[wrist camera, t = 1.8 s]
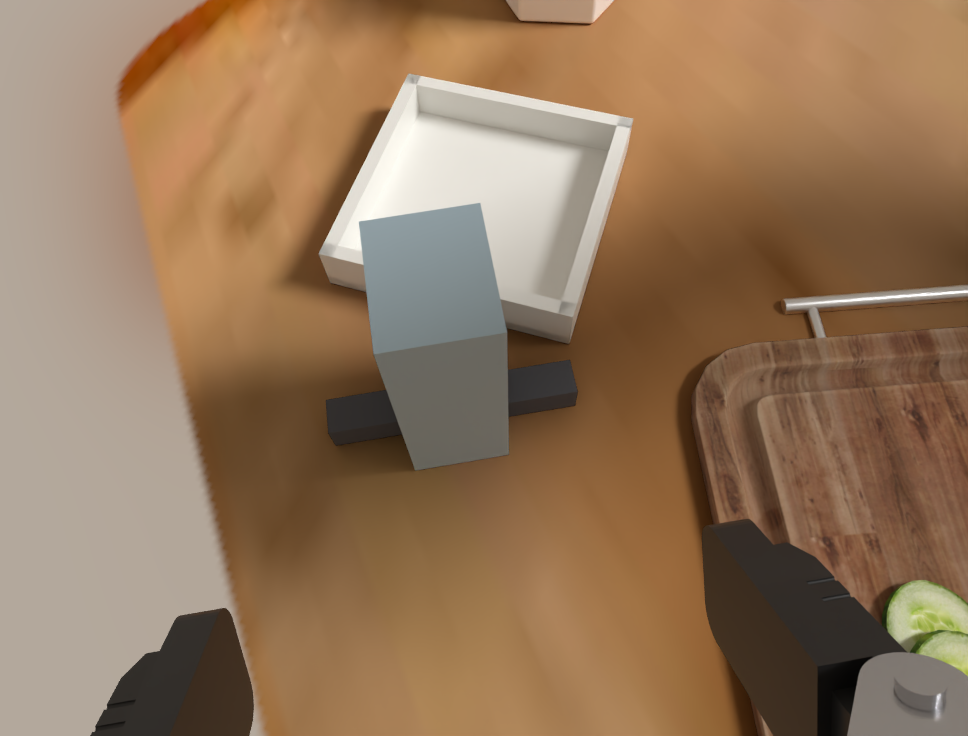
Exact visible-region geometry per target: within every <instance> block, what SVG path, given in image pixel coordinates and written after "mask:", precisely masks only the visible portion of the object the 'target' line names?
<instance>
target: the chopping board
mask: <svg viewBox="0 0 968 736" xmlns="http://www.w3.org/2000/svg"><path fill="white" fill-rule="evenodd" d="M956 301H968V284H966V285H953V286H940V287H927V288H914V289H901V290H888V291H875V292H862V293H849V294H836V295H823V296H810V297H797V298H784V299H782V300H781V302H780V304H781V307H782V311H783V314H785V315H787V314H800V313H807V315H808V318H809V322H810V325H811V328H812V331H813V335H814V338H811V339H798V340H785V341H772V342H759V343H751V344H747V345H743V346H739V347H736V348H732V349H728V350H726V351H725V352H723V353H722V354H721V355H719V356H718V357H717V358H716V359H714V360H713V361H712V362H710V363H709V364H708V365H707V366H706V367H705V369H704V371H703V373H702V375H701V377H700V379H699V381H698V383H697V385H696V387H695V389H694V391H693V393H692V426H693V431H694V435H695V440H696V445H697V449H698V454H699V459H700V464H701V468H702V473H703V478H704V483H705V487H706V492H707V497H708V502H709V506H710V511H711V516H712V520H713V524H719V523H725V522H730V521H736V520H742V519H750V520H752V521H753V522H754V523H755V525H756V526H757V527H758V528H759V529H760V530H761V531H762V532H763V534H764V535H765V536H766V537H767V538H768V539H769V540H770V541H771V543H772V544H773V545H775V544H780V543H786V542H788V543H790V544H792V545H793V546H795V547H797V548H799V549H801V550H803V551H805V552H807V553H809V554H811V555H813V556H815V557H816V558H817V559H818V560H819V561H820V562H821V563H822V564H823V565H824V566H825V567H826V568H827V569H828V570H829V571H830V573H831V574H832V575H833V576H834V578H835V580H836V581H837V580H838V581H839V582H840V583H841V584H842V585H843V586H844V587H845V588H846V589H847V590H848V591H849V592H850V596H851V597H855V598H856V599H857V601H858V602H859V603H860V604H861V605H862V606H863V607H864V608H865V609H866V610H867V611H868V612H869V613H870V614H871V615H872V616H873V617H874V618H875V619H876V620H877V621H878V622H879V623H880V624H881V625H882V626H883V627H884V629H885V630H886V631H887V632H888V633H889V634H890V635H891V636H892V637H893V638H894V639H895V640H896V641H897V642H898V643H899V644H900V645H901V646H902V647H903V648H904V649H905V650H906V651H907V652H908V653H915V654H921V655H925V656H929V657H933V658H935V659H938V660H941V661H943V662H946V663H948V664H950V665H952V666H954V667H955V668H957V669H958V670H960V671H962V672H963V673H964V674H966V675H967V676H968V326H966V327H953V328H940V329H927V330H914V331H902V332H889V333H876V334H863V335H850V336H837V337H826V334H825V331H824V327H823V324H822V321H821V318H820V315H819V312H826V311H839V310H852V309H865V308H878V307H891V306H904V305H917V304H930V303H943V302H956ZM750 700H751V698H750ZM751 705H752V710H753V714H754V719H755V724H756V729H757V733H758V736H773V734H772V733H771V731H770V729H769V728H768V726H767V724H766V723H765V721H764V720H763V718H762V716H761V715H760V713H759V711H758V710H757V708H756V706H755V705H754V703H753V701H752V700H751Z"/></svg>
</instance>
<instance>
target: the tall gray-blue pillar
mask: <svg viewBox="0 0 968 736" xmlns="http://www.w3.org/2000/svg"><path fill="white" fill-rule="evenodd" d="M359 229H360V238H361V247H362V256H363V265H364V274H365V283H366V292H367V301H368V310H369V319H370V328H371V337H372V346H373V354H374V357H375V360H376V363H377V366H378V368H379V371H380V374H381V377H382V379H383V382H384V385H385V388H386V390H387V393H388V396H389V399H390V402H391V404H392V407H393V410H394V413H395V415H396V418H397V421H398V424H399V427H400V429H401V432H402V435H403V438H404V440H405V443H406V446H407V449H408V452H409V454H410V457H411V460H412V463H413V465H414V468H415V471H416V470H422V469H428V468H434V467H439V466H445V465H451V464H457V463H463V462H469V461H475V460H481V459H487V458H492V457H498V456H504V455H509V422H508V352H507V329H506V324H505V319H504V315H503V310H502V305H501V300H500V295H499V291H498V286H497V281H496V276H495V271H494V267H493V262H492V257H491V252H490V247H489V243H488V238H487V233H486V228H485V223H484V219H483V214H482V209H481V204H480V203H476V204H469V205H463V206H456V207H450V208H443V209H437V210H430V211H424V212H417V213H411V214H404V215H398V216H391V217H385V218H379V219H372V220H366V221H359Z"/></svg>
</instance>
